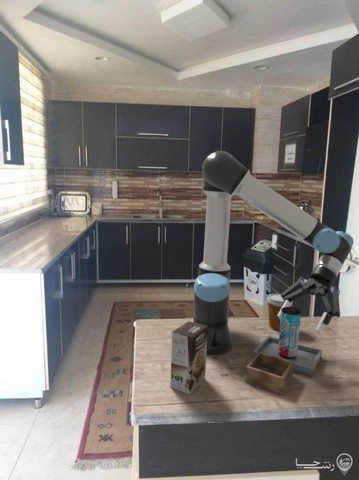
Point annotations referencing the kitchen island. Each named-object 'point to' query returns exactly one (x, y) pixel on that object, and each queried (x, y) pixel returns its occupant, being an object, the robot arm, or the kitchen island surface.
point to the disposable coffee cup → (274, 310)
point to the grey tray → (302, 362)
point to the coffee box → (188, 356)
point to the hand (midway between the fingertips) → (297, 324)
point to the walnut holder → (266, 378)
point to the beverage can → (289, 332)
